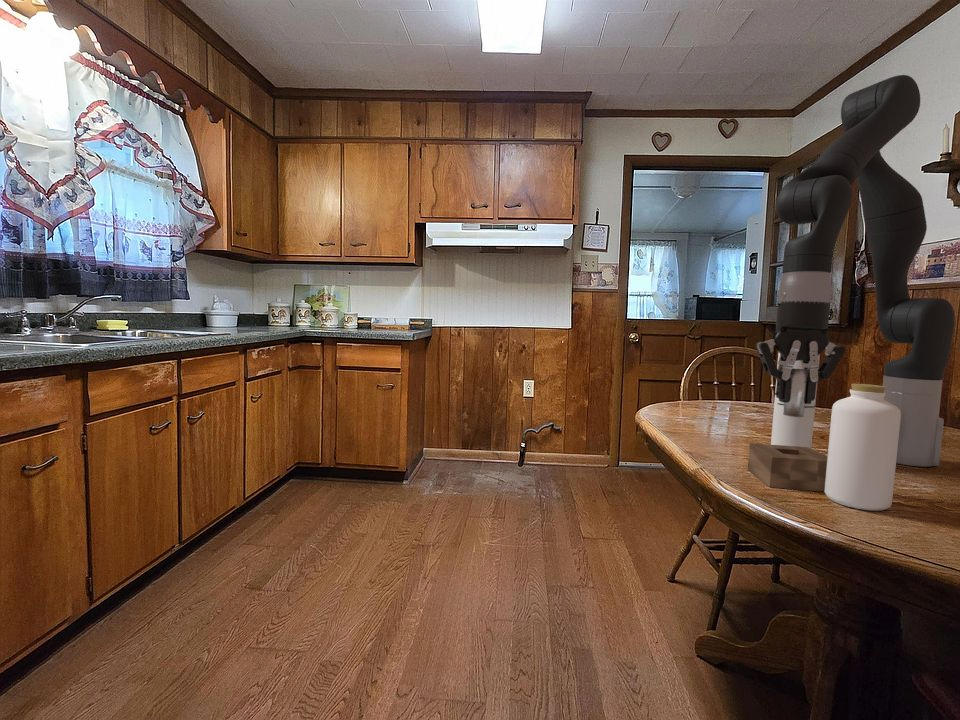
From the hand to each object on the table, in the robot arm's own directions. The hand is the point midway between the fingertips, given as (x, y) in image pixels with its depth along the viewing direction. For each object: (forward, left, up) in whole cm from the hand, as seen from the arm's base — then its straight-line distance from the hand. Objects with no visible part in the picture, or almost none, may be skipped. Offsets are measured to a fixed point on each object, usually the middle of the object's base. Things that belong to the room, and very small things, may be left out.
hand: (794, 402), depth 89 cm
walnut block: (0, 0, -14) cm, 14 cm away
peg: (0, 0, -2) cm, 2 cm away
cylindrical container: (-8, -19, -14) cm, 25 cm away
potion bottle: (-6, +10, -14) cm, 18 cm away
